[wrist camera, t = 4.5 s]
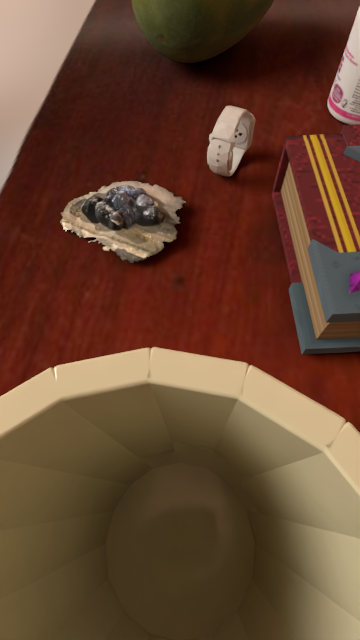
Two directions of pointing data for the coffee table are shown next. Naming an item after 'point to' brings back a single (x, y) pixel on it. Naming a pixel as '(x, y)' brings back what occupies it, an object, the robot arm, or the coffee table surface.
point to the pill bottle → (348, 81)
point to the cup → (175, 505)
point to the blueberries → (125, 218)
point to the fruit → (197, 25)
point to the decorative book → (322, 237)
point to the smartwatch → (230, 140)
